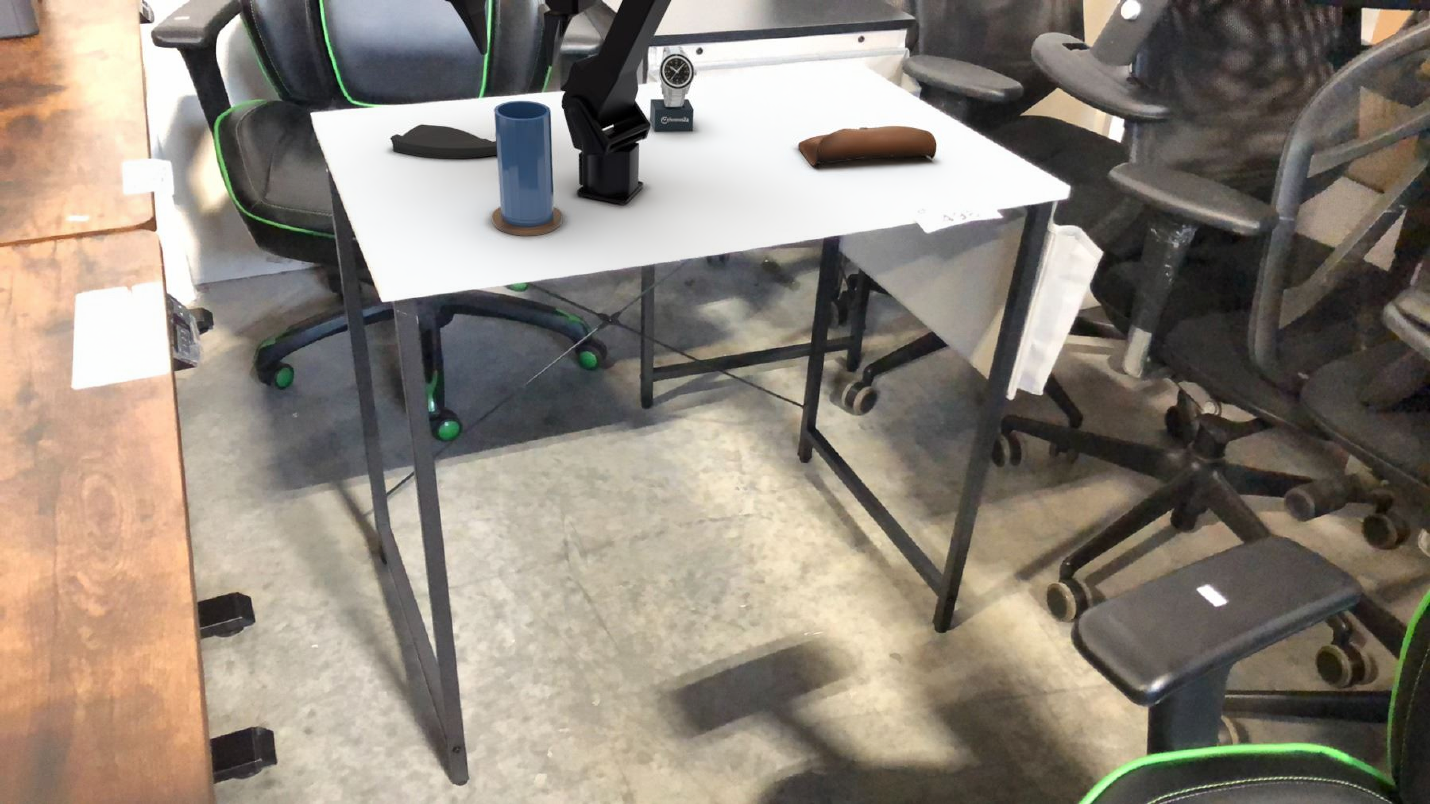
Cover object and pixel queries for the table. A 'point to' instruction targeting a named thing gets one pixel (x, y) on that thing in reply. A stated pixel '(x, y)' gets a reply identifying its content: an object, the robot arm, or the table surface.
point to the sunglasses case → (868, 144)
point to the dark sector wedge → (442, 143)
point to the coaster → (526, 231)
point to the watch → (673, 92)
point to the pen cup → (524, 162)
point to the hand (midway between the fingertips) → (517, 59)
